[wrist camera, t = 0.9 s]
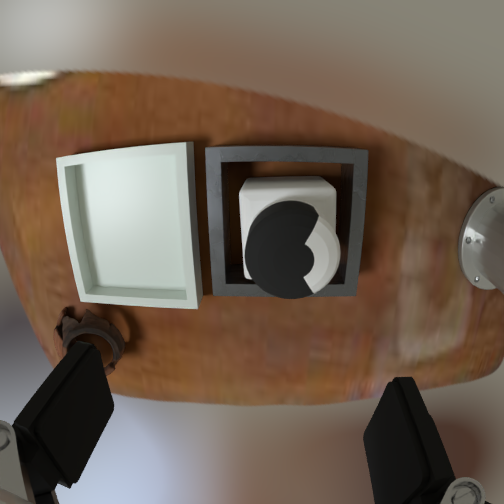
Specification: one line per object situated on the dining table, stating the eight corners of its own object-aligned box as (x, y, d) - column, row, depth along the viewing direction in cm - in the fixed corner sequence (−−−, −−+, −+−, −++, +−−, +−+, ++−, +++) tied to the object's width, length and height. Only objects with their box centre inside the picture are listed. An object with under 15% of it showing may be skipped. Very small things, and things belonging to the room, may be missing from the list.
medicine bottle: (249, 249, 32) (238, 313, 21) (245, 177, 29) (230, 204, 18) (321, 247, 31) (347, 309, 20) (321, 175, 29) (354, 201, 18)
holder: (354, 147, 28) (368, 150, 23) (345, 275, 32) (355, 296, 28) (214, 145, 28) (205, 147, 24) (220, 274, 33) (213, 295, 29)
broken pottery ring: (62, 284, 35) (57, 312, 28) (128, 301, 40) (137, 331, 33) (49, 359, 37) (47, 395, 30) (109, 371, 42) (117, 408, 35)
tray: (193, 141, 28) (185, 142, 26) (203, 295, 34) (197, 308, 31) (70, 155, 29) (56, 158, 26) (91, 290, 35) (80, 301, 32)
